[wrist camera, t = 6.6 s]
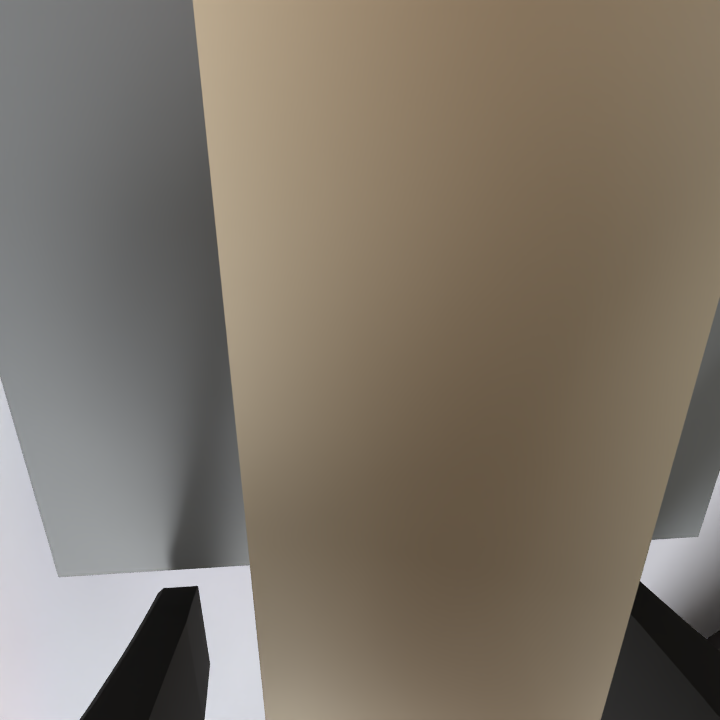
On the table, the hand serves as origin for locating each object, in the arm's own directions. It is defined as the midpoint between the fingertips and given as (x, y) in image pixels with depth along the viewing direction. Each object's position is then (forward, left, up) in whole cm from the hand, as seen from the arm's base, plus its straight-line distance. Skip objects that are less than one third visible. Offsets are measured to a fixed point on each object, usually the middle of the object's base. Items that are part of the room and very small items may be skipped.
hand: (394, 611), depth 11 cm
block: (0, +5, 0) cm, 5 cm away
